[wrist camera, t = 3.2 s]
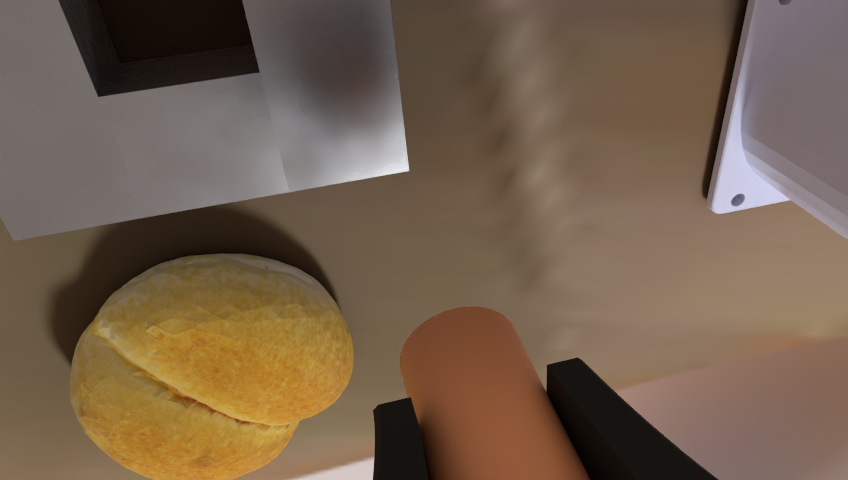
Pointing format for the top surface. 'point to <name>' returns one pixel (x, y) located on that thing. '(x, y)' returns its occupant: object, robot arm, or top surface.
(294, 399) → the bread roll
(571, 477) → the sausage
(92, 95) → the slotted grey box
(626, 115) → the top surface
